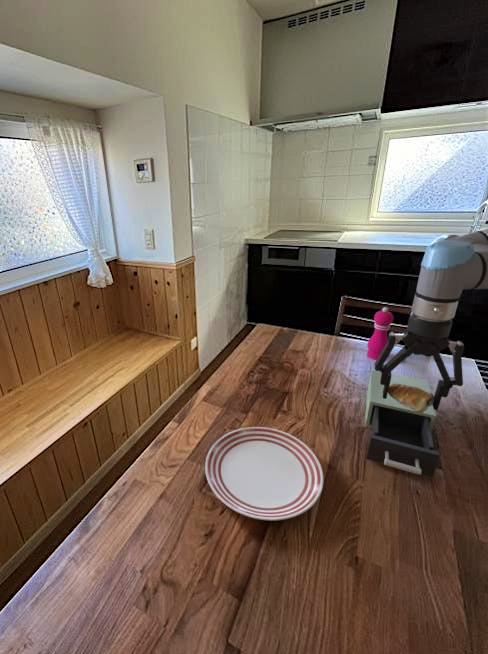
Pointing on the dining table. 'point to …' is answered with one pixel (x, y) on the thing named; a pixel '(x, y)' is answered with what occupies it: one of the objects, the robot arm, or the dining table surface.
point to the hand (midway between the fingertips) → (408, 400)
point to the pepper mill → (379, 333)
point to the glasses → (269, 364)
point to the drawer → (402, 441)
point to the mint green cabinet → (377, 398)
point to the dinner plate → (264, 473)
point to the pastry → (411, 397)
